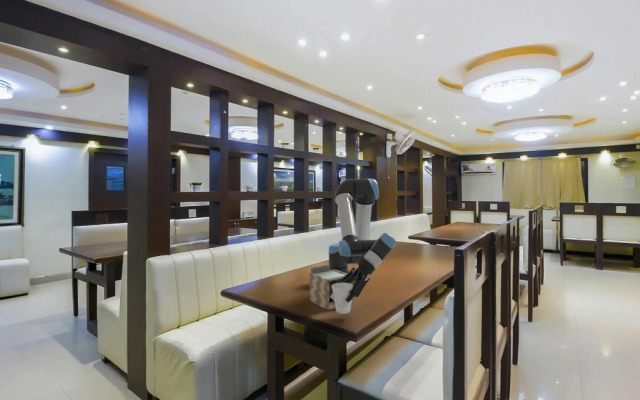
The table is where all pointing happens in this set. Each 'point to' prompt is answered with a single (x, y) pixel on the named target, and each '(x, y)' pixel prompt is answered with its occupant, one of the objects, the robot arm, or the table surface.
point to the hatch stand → (323, 290)
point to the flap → (326, 273)
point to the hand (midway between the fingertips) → (336, 302)
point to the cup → (341, 296)
